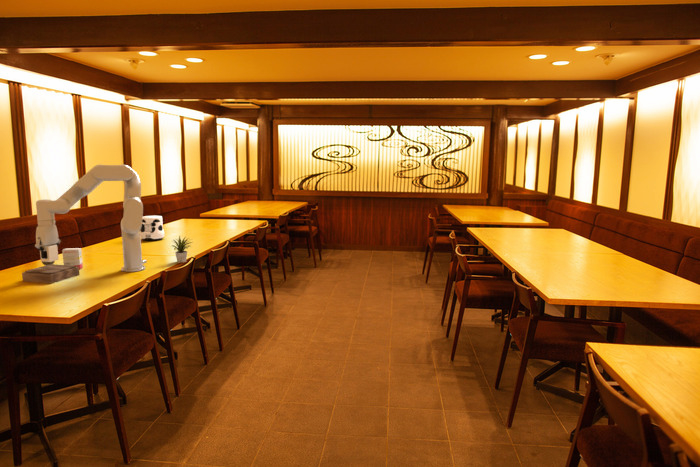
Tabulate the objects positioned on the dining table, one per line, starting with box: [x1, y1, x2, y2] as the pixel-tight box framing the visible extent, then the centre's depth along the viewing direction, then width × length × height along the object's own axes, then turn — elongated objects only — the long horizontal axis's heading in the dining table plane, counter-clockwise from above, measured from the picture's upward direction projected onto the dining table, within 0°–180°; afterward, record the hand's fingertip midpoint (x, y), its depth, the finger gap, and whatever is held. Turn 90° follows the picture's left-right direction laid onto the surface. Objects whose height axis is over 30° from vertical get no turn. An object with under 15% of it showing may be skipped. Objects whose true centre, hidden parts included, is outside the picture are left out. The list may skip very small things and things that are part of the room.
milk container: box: [140, 215, 165, 241], centre depth 354 cm, size 17×17×18 cm
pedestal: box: [21, 263, 80, 285], centre depth 242 cm, size 18×18×5 cm
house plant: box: [171, 235, 194, 264], centre depth 281 cm, size 14×14×16 cm
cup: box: [39, 256, 55, 266], centre depth 265 cm, size 8×7×8 cm
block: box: [39, 245, 59, 262], centre depth 241 cm, size 6×6×8 cm
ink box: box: [61, 247, 84, 270], centre depth 262 cm, size 9×5×12 cm, turn 102°
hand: (49, 256), depth 241 cm, fingers closed on block, 5 cm apart
